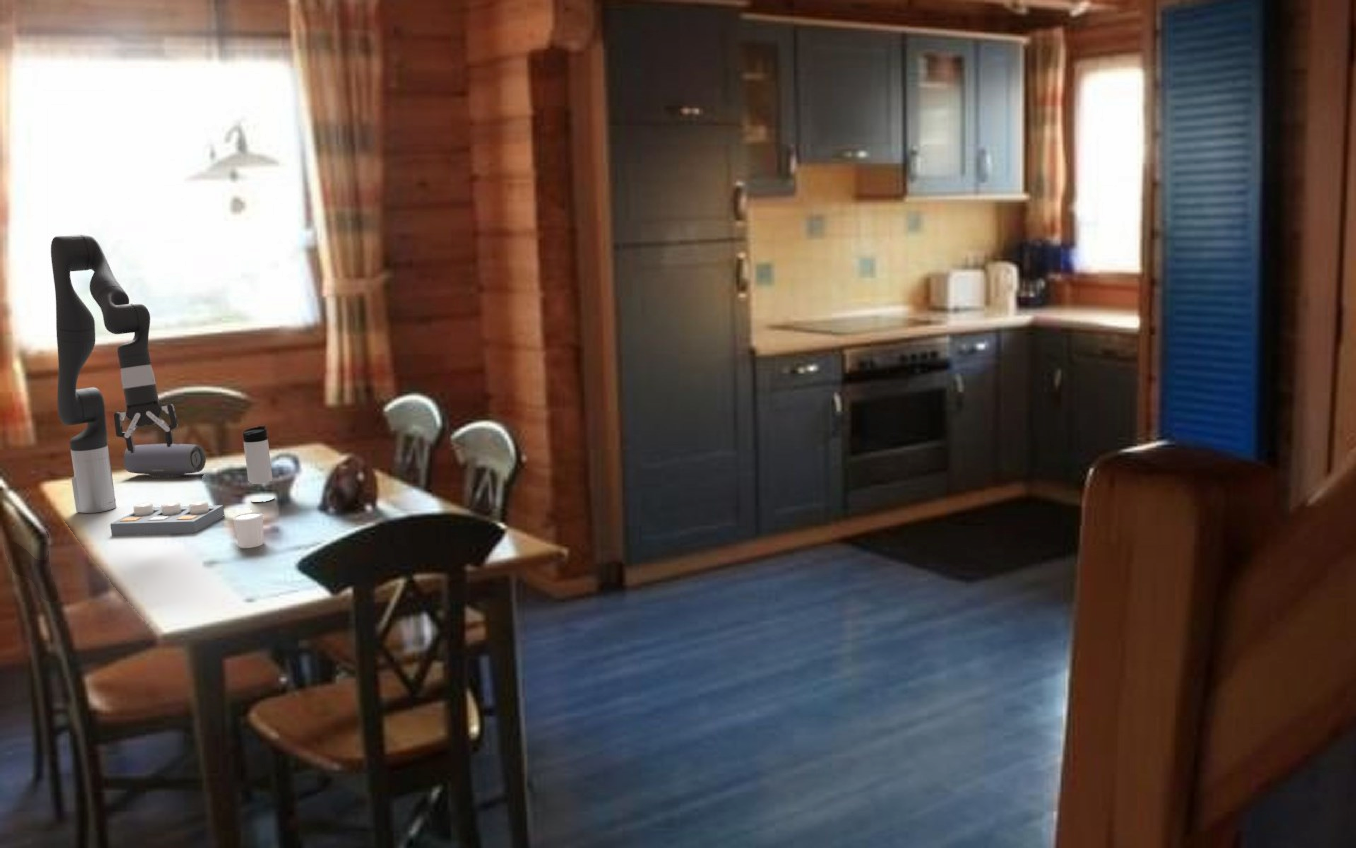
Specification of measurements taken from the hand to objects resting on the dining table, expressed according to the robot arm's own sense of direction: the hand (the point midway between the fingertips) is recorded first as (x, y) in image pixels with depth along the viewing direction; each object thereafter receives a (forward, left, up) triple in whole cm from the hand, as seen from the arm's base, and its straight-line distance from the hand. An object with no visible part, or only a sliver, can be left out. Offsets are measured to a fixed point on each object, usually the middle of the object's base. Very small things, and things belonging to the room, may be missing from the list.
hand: (151, 449), depth 321 cm
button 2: (+6, +8, -19) cm, 22 cm away
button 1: (-9, +8, -19) cm, 23 cm away
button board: (-1, +6, -21) cm, 22 cm away
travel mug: (+13, +31, -21) cm, 40 cm away
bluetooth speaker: (-34, +67, -21) cm, 78 cm away
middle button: (-1, +8, -19) cm, 21 cm away
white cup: (+30, -14, -21) cm, 39 cm away
